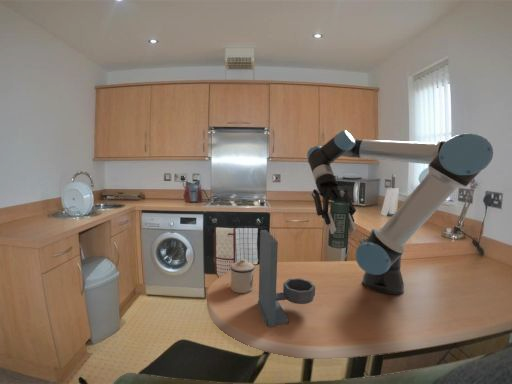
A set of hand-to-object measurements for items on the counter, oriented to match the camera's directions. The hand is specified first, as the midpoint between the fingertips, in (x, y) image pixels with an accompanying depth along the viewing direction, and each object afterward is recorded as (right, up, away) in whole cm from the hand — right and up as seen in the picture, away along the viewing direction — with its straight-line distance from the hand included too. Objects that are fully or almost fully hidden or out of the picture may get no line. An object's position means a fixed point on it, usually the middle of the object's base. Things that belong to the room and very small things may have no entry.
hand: (343, 231), depth 88 cm
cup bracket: (-19, -26, -1) cm, 32 cm away
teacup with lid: (-35, -24, +16) cm, 46 cm away
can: (-1, -6, +4) cm, 7 cm away
